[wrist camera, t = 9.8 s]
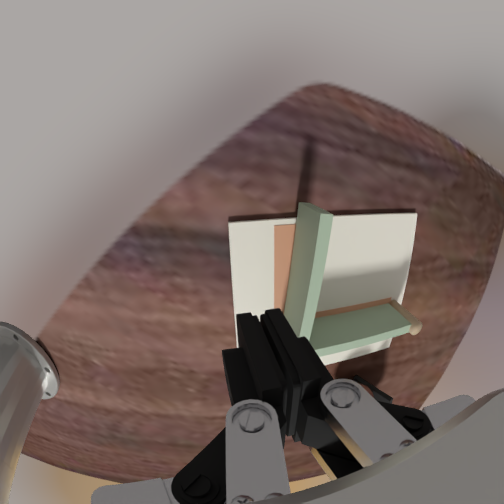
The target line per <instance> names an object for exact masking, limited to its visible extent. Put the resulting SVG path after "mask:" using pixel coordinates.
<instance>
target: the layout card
mask: <svg viewBox="0 0 504 504" xmlns="http://www.w3.org/2000/svg"><path fill="white" fill-rule="evenodd" d="M416 220H417V213H382V214H353V215H333V221H332V228H331V234H330V240H329V246H328V252H327V258H326V264H325V269H324V274H323V280H322V285H321V290H320V295H319V300H318V304H317V309H316V314H315V318H318V317H324V316H329V315H335V314H340V313H345V312H350V311H355V310H360V309H364V308H369V307H373V306H378V305H382V304H387V303H389V302H390V301H391V300H396V301H397V302H398V303H399V304H400V305H401V304H402V299H403V295H404V291H405V286H406V282H407V277H408V272H409V266H410V261H411V255H412V249H413V243H414V236H415V228H416ZM296 222H297V217H293V218H277V219H262V220H248V221H235V222H228V229H229V246H230V262H231V277H232V291H233V305H234V318H235V331H236V343H237V348H238V335H237V323H236V314H241V313H248V312H251V314H252V316H254V315H257V317H258V319H259V321H260V315H261V314H265V310H269V309H275V308H280V309H281V311H282V312H283V314H284V309H285V303H286V296H287V289H288V283H289V276H290V269H291V261H292V254H293V246H294V239H295V231H296ZM391 340H392V338H389V339H386V340H383V341H379V342H376V343H372V344H369V345H365V346H362V347H358V348H354V349H350V350H346V351H342V352H338V353H334V354H330V355H325V356H321V357H319V358H320V359H321V361H322V362H323V364H324V365H328V364H332V363H336V362H340V361H344V360H348V359H351V358H355V357H359V356H362V355H366V354H369V353H372V352H376V351H379V350H382V349H385V348H388V347H389V346H390V343H391Z"/></svg>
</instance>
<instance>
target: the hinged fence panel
mask: <svg viewBox="0 0 504 504" xmlns="http://www.w3.org/2000/svg"><path fill="white" fill-rule="evenodd" d="M332 221H333V214H331V213H329V212H327V211H325V210H323V209H321V208H319V207H317V206H315V205H313V204H311V203H305V202H299V205H298V214H297V222H296V231H295V239H294V246H293V254H292V261H291V269H290V276H289V283H288V289H287V296H286V303H285V309H284V316H285V317H286V319H287V321H288V322H289V324H290V326H291V327H292V329H293V331H294V332H295V334H296V336H297V337H303V336H304V337H306V338H307V339H308V341H309V340H310V336H311V331H312V327H313V323H314V318H315V314H316V309H317V304H318V300H319V295H320V290H321V285H322V280H323V274H324V269H325V264H326V258H327V252H328V246H329V240H330V234H331V228H332Z"/></svg>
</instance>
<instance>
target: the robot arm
mask: <svg viewBox="0 0 504 504" xmlns="http://www.w3.org/2000/svg"><path fill="white" fill-rule="evenodd" d="M236 323H237V335H238V348H233V349H226V350H222V356H223V364H224V370H225V376H226V382H227V387H228V391H229V396H230V401H231V405H232V407H231V408H230V409H229V411H228V412H227V415H226V427H225V428H224V429H223V430H222V431H221V432H220V433H219V434H218V435H217V436H216V437H215V438H214V439H213V440H212V441H211V442H210V443H209V444H208V445H207V446H206V447H205V448H204V449H203V450H202V451H201V452H200V453H199V454H198V455H197V456H196V457H195V458H194V459H193V460H192V461H191V462H190V463H188V464H187V465H186V466H185V467H184V468H183V469H182V470H181V471H180V472H179V473H177V475H176V476H175V477H173V478H169V479H164V480H162V478H157V479H152V480H146V481H140V482H133V483H126V484H118V485H107V486H102V487H99V488H98V489H97V490H95V491H94V492H93V494H92V496H91V504H504V388H502V389H499V390H496V391H493V392H491V393H489V394H487V395H485V396H483V397H482V398H480V399H478V400H477V401H475V400H474V399H473V398H472V397H470V396H468V395H459V396H457V397H454V398H451V399H448V400H446V401H442V402H439V403H436V404H433V405H430V406H427V407H424V408H423V410H422V411H421V410H417V409H414V408H409V407H404V406H399V405H395V404H390V403H386V402H381V401H377V400H375V399H374V398H373V397H372V396H371V395H370V394H369V393H368V392H367V391H366V390H365V389H364V388H363V387H362V386H361V385H360V384H358V383H357V382H355V381H352V380H349V379H336V380H334V379H333V378H332V376H331V375H330V373H329V372H328V370H327V369H326V367H325V365H324V364H323V362H322V361H321V359H320V358H319V356H318V355H317V353H316V351H315V350H314V348H313V347H312V345H311V344H310V342H309V341H308V339H307V338H306V337H304V336H303V337H297V336H296V334H295V332H294V331H293V329H292V327H291V326H290V324H289V322H288V321H287V319H286V317H285V316H284V314H283V312H282V311H281V309H280V308H275V309H269V310H265V314H261V315H260V321H259V319H258V317H257V315H254V316H252V314H251V312H248V313H241V314H236ZM59 384H60V381H59V376H58V373H57V370H56V368H55V366H54V364H53V362H52V361H51V359H50V358H49V356H48V355H47V354H46V353H45V351H44V350H43V349H42V348H41V347H40V346H39V345H38V343H37V342H36V341H34V340H33V339H32V338H31V337H30V336H29V335H28V334H26V333H25V332H23V331H22V330H20V329H19V328H17V327H15V326H14V325H11V324H9V323H5V322H0V504H8V502H9V496H10V491H11V486H12V482H13V478H14V474H15V470H16V466H17V463H18V460H19V457H20V454H21V451H22V447H23V445H24V442H25V439H26V436H27V433H28V431H29V428H30V425H31V423H32V420H33V418H34V415H35V413H36V410H37V408H38V405H39V403H40V401H41V399H49V398H52V397H54V396H55V395H56V393H57V391H58V389H59ZM285 434H286V435H287V436H291V435H292V438H293V440H294V442H298V441H301V442H302V444H304V445H307V446H309V449H310V451H311V453H312V454H313V456H314V457H315V459H316V460H317V461H318V463H319V464H320V466H321V467H322V469H323V470H324V471H325V473H326V474H327V476H328V477H329V478H330V480H331V481H330V482H327V483H325V484H322V485H318V486H315V487H312V488H309V489H306V490H303V491H299V492H295V493H290V487H289V481H288V475H287V469H286V463H285V457H284V452H283V449H284V443H285Z"/></svg>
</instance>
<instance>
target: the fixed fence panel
mask: <svg viewBox="0 0 504 504" xmlns="http://www.w3.org/2000/svg"><path fill="white" fill-rule="evenodd" d="M421 328H422V323H421V322H420V321H419V320H418V319H417V318H415V317H414V316H413V315H412V314H411V313H410V312H409V311H407V310H406V309H405V308H404V307H403V306H402V305H400V304H399V303H398V302H397V301H396V300H391V301H390V302H389V303H387V304H382V305H378V306H373V307H369V308H364V309H360V310H355V311H350V312H345V313H340V314H335V315H329V316H324V317H318V318H314V323H313V327H312V331H311V336H310V340H309V342H310V344H311V345H312V347H313V348H314V350H315V351H316V353H317V355H318V356H319V357H321V356H325V355H330V354H334V353H338V352H342V351H346V350H350V349H354V348H358V347H362V346H365V345H369V344H372V343H376V342H379V341H383V340H386V339H389V338H392V337H396V336H399V335H402V334H405V333H408V332H410V333H411V334H412V335H415V334H417V333H418V332H419V331H420V330H421Z"/></svg>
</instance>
